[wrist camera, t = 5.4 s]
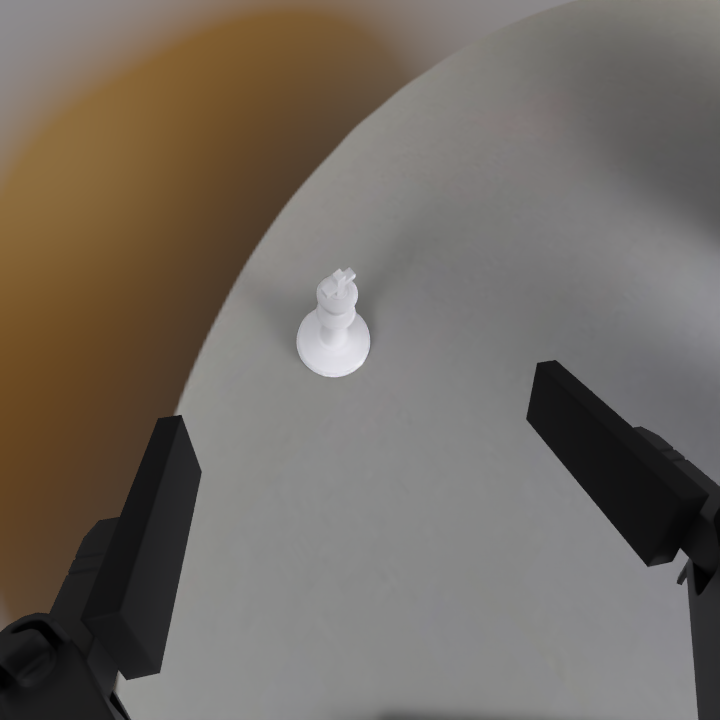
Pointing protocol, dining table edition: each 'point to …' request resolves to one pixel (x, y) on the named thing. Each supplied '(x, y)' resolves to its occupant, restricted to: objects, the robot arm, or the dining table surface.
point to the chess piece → (334, 329)
